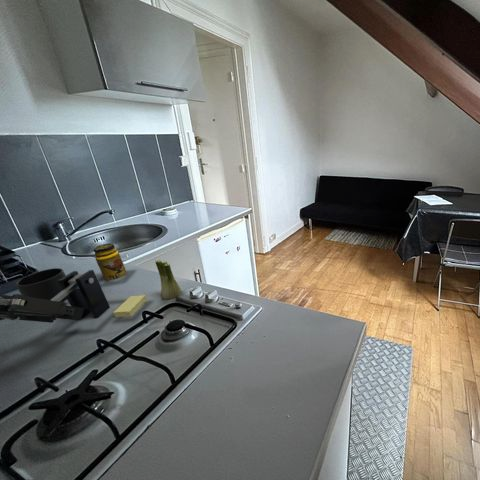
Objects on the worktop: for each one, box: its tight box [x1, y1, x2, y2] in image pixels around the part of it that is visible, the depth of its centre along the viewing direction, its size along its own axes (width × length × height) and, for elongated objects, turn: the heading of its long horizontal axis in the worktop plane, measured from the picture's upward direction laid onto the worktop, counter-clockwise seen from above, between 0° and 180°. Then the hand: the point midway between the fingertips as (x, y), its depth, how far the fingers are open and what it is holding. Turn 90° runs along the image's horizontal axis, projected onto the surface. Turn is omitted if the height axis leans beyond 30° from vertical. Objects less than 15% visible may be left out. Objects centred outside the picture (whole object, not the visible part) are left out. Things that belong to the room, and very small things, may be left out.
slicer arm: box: [27, 273, 84, 316], centre depth 59 cm, size 12×6×2 cm, turn 3°
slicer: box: [58, 269, 111, 320], centre depth 65 cm, size 12×9×13 cm
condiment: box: [92, 243, 128, 281], centre depth 84 cm, size 7×8×12 cm
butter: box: [112, 294, 148, 318], centre depth 68 cm, size 7×4×3 cm, turn 2°
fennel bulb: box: [155, 259, 182, 301], centre depth 71 cm, size 6×5×12 cm
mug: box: [15, 267, 68, 302], centre depth 74 cm, size 9×12×9 cm
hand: (66, 315), depth 60 cm, fingers closed on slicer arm, 5 cm apart
